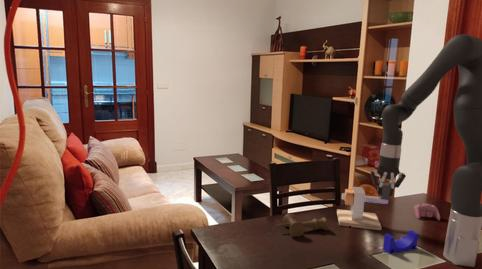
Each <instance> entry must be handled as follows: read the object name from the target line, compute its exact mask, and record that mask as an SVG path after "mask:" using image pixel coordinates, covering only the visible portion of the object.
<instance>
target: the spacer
mask: <svg viewBox="0 0 482 269" xmlns="http://www.w3.org/2000/svg"><path fill="white" fill-rule="evenodd" d="M352 189H353V188H352ZM352 189H349V188H345V189H344V193H345V194H346V199H345V200H343V201H344V204H345V205H346V206H351V205H353V200H354V192H353V190H352Z"/></svg>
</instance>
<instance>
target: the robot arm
mask: <svg viewBox="0 0 482 269" xmlns="http://www.w3.org/2000/svg"><path fill="white" fill-rule="evenodd" d="M456 67H457V69H458V77H459V78H458V86H457V90H456V93H455V96H454V100H453V105H452V106H453V110H452V111H453V121H454V127H455V129H456V132H457V133H458V135H459V138H460V139H461V142H462V143H463V146H464V148H465V149H464V150H465V154H466V164H465V165H460V166H459V167H457V168H456V169H455V171H454V172H453V175H452V179H451V185H450V186H451V188H450V198H449V199H450V205H451V206H450V211H449V212H450V214H449V217H448V224H447V228H446V235H445V240H444V248H443V253H442V254H443V257H444V258H445V259H446V260H447V261H449V262H451V263H452V264H453V265H455V266H462V267H463V266H464V267H471V268H474V267H475V265H476V260H477V256H478V249H479V246H480V236H481V232H482V203H481V199H482V39H481V38H479V37H478V36H474V35H470V34H465V33H461V34H456V35H454V36H453V37H451V38H450V39H449V40H448V41H447V42H446V43H445V45H444V46H443V47H442V49H441V50H440V52H439V53H438V54H437V55H436V57H435V58H434V60H433V61H432V62H430V64H429V66H428V67H427V68H426V69H425V71H423V73H421V74H420V76H419V77H418V78H417V79H416V80H415V81H414V82H413V83H412V84H411V85H410V86H409V87H408V88H407V89H406V90H405V91H404V92H403V93H402V94H401V97H400V99H401V100H400V101H399V102H398V103H395V104H388V105H386V106H385V107H384V109H383V110H382V113H381V122H382V123H381V124H382V130H383V131H382V132H383V133H382V134H383V135H382V142H381V146H380V151H379V157H378V158H379V159H378V166H377V168H376V169H371V170H369V172H370V173H369V174H370V176H371V179H372V182H373V184H374V186H377V190H376V193H377V195H378V197H380V196H381V194H382V185H383V183H385V180H387V181H388V180H389V182H388V183H389V184H390V185H391V188H390V195H389V198H391V197H392V196H393V195H394V189H395V188H400V186H401V184H402V182H404V180H405V178H406V176H407V175H406V174H405V173H404V172H401V171H400V169H399V168H400V162H401V154H402V142H403V135H404V133H403V131H402V130H401V129H400V128H399V123H403V122H405V121H406V120H408V119H409V118H410V117H411V116H412V115H413V114H414V112H415V111H416V109H417V107H419V106H420V105H421V104H422V103H423V102H424V101H426V99H428V97H430V96H431V94H433V92H434V91H435V89H436V88H437V86H438V85H439V83H440V81H441V80H442V79H443V78H444V77H445V76H446V75H447V74H448V73H449V72H450V71H451V70H453V69H454V68H456ZM377 174H378V175H379V178H378V180H377V178H376V176H377ZM397 176H398V178H397V179H396V181H395V178H396V177H397Z"/></svg>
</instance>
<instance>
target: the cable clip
mask: <svg viewBox="0 0 482 269" xmlns="http://www.w3.org/2000/svg"><path fill="white" fill-rule="evenodd" d="M418 240H419V233H417V232H416V231H414V230H408V233H407V235H406V236H401V237H400V238H399V239H397V240H395V237H394V236H392V235H391V234H389V233H385V234H384V238H383V245H382V250H383V251H384V252H385V253H387V254H396V253H401V252H407V251H408V252H409V251H415V250H417V246H418Z"/></svg>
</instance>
